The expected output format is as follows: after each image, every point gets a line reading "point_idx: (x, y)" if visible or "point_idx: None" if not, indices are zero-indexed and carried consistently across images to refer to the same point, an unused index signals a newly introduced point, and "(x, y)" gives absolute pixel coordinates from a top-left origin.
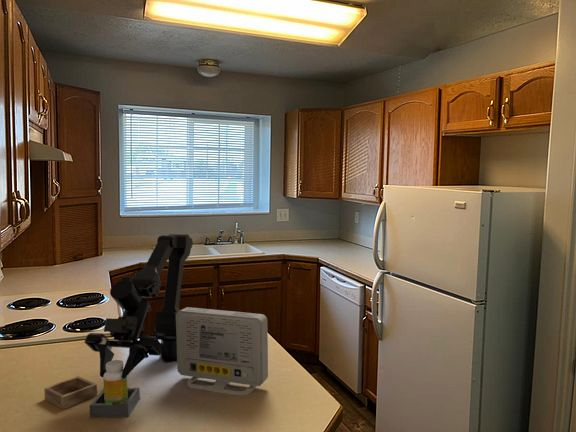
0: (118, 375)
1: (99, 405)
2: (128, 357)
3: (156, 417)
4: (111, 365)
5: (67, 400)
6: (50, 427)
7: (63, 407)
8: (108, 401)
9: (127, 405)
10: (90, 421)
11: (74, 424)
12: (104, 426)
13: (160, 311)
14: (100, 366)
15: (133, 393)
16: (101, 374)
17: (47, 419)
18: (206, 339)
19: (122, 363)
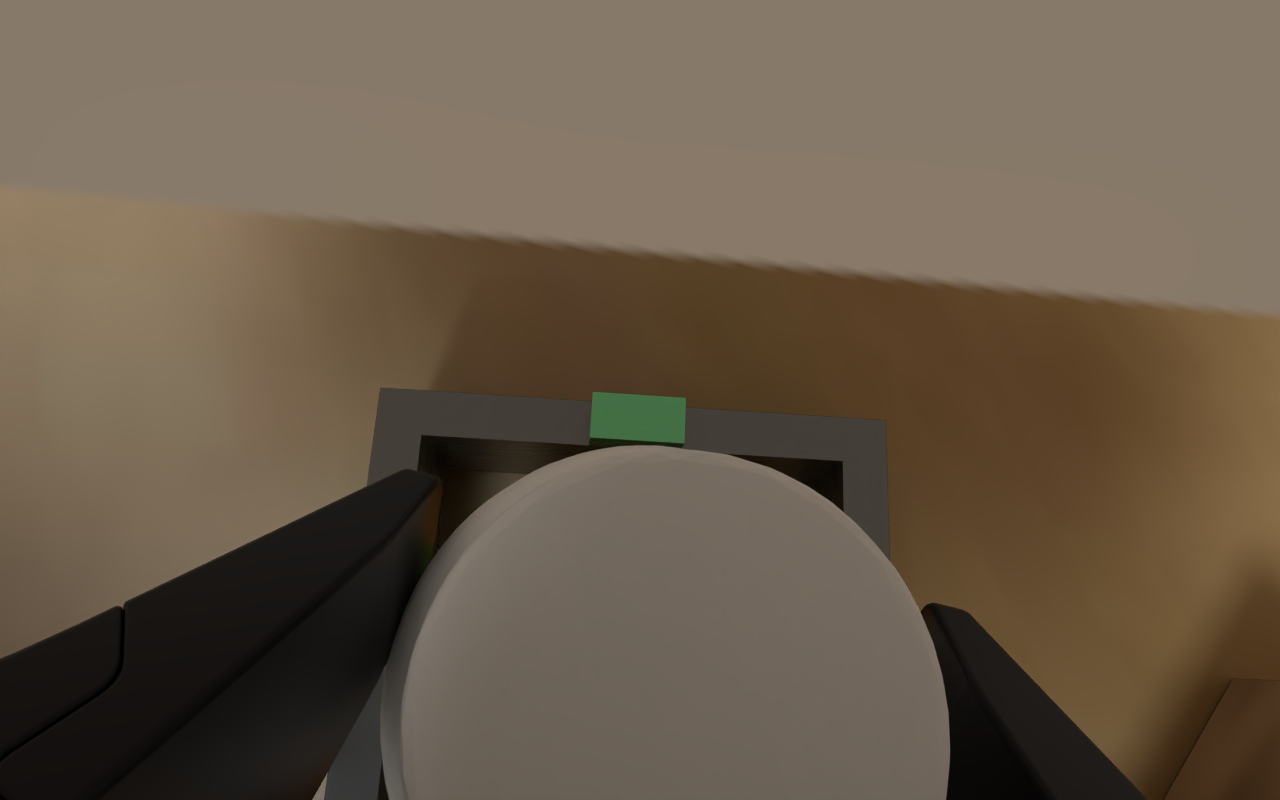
0: (510, 500)
1: (756, 415)
2: (86, 773)
3: (83, 393)
4: (714, 516)
5: (1275, 732)
6: (1140, 302)
7: (1248, 684)
8: (651, 428)
9: (387, 388)
10: (799, 377)
11: (936, 334)
12: (617, 266)
13: None
14: (1091, 746)
15: (365, 743)
16: (936, 608)
17: (1266, 461)
18: None
19: (403, 694)
